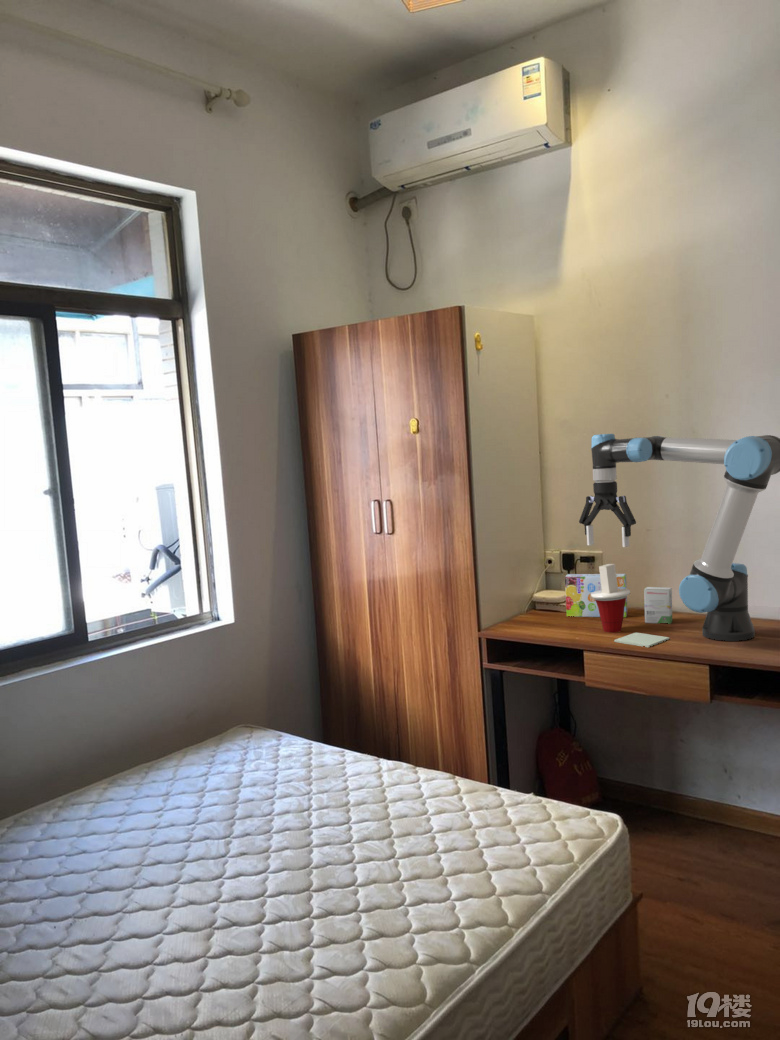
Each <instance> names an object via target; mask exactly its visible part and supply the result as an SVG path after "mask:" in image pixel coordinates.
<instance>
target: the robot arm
mask: <svg viewBox="0 0 780 1040" xmlns="http://www.w3.org/2000/svg"><path fill="white" fill-rule="evenodd" d="M590 450H591V459H592V481H593V483H592V486H593V493H594V495H588V496H586V497H585V504H584V506H583V510H582V512H581V515H580V518H579V521H578V522H579V524H582V525H583V526H584V534H585V536H586V546H592V545H595V539H594V537H595V536H594V525H593V524H592V523H593V522H594V521H595V518H596V517H597V515H598V514H599V513H600V512H601V511H603V510H605V511H611V512H612V513H613V514H614V515H615V516H616V518H617V519H618V520H619V521H620V523H621V524H622V525H623V526H622V527H621V541H622V542H621V544H622V548H628V547H630V537H631V536H632V535H631V534H632V533H631V531H632V528H631V527H632V526H633V525H636V523H637V521H636V519H635V517H634V514H633V513H632V510H631V509H630V506H629V504H628V502H627V497H626V495H621V496H618V495H617V493H618V482H617V481H616V480H617V478H618V477H617V464H618V463H641V462H642V463H643V462H647V461H664V462H665V461H668V462H684V463H686V462H687V463H696V464H697V463H699V464H712V465H724V467H725V472H724V475H723V478H724V480H725V482H726V486H725V490H724V493H723V495H722V497H721V500H720V504H719V507H718V510H717V512H716V516H715V518H714V520H713V523H712V526H711V529H710V531H709V532H710V533H709V534H708V538H707V541H706V543H705V546H704V548H703V551H702V555H701V558H699V559H696V560H695V561H694V562H693V564H692V567H691V570H690V573H689V575H687V576H685V577H684V578H683V579H682V580H681V581H680V584H679V586H678V587H679V588H678V592H679V593H678V594H679V597H680V599H681V601H682V603H683V604H684V606H685V607H687V609H688V610H690V611H692V612H695V613H700V614H704V613H706V616H705V617H704V618H705V619H704V622H703V625H702V629H701V632H702V636H703V637H704V638H707V639H709V638H710V639H709V640H714V639H715V641H721V640H723V641H722V642H724V640H725V642H740V641H739V640H742V641H748V640H747V639H749V640H752V639H754V638H755V637H754V636H756V633H755V632H756V631H755V627H754V624H753V621H752V619H751V616H750V613H749V600H748V599H749V591H748V590H749V589H748V587H749V586H748V585H749V584H748V580H749V579H748V577H749V574H748V567H747V566H746V565H745V564H744V563H737V562H734V560H735V558H736V557H735V556H736V554H737V552H738V550H739V546H740V544H741V541H742V538H743V535H744V533H745V530H746V527H747V524H748V523H749V522H748V521H749V519H750V516H751V515H752V514H751V513H752V511H753V508H754V505H755V503H756V499H757V497H758V495H759V493H762V492H763V491H765V490H766V489H767V487H768V485H769V482H770V479H771V476H773V475H776V474H778V473H780V437H778V436H775V435H770V434H769V435H768V434H765V435H764V434H763V435H756V436H755V435H749V436H744V437H742V438H739V439H722V438H721V439H720V438H719V439H718V438H717V439H716V438H698V437H697V438H693V437H669V436H668V437H666V436H660V435H654V436H647V437H645V436H644V437H633V438H632V437H631V438H629V437H628V438H621V439H619V438H618V439H617V438H616V437H615V434H614V433H600V434H594V435H593V436H592V437H591V447H590ZM594 503H595V505H594ZM617 503H619V505H618V504H617ZM593 505H594V506H593ZM753 637H754V638H753ZM751 638H752V639H751Z"/></svg>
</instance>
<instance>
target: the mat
mask: <svg viewBox="0 0 780 1040" xmlns="http://www.w3.org/2000/svg"><path fill="white" fill-rule="evenodd" d="M613 640H614V643H620V644H625V645H631V646H638V647H643V646H645V647H644V648H651V647H653V645H654V646H656V645H658V643H659V644H661V643H664V642H666V640H667V641H668V640H670V636H669V637H668V636H661V635H656V634H655V635H654V634H649V633H643V632H642V633H641V632H633V633H629V634H628V635H624V636H622V637H619V638H615V639H613ZM663 641H664V642H663ZM650 646H651V647H650Z"/></svg>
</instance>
